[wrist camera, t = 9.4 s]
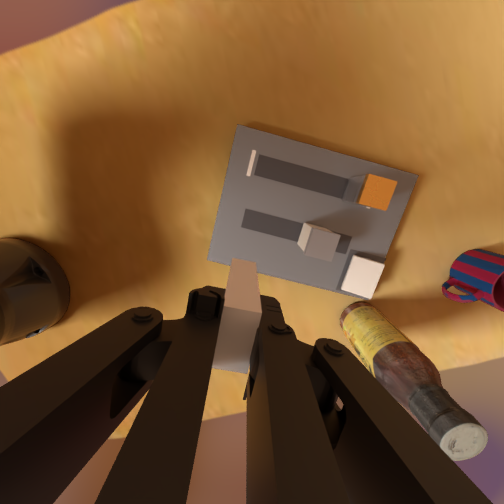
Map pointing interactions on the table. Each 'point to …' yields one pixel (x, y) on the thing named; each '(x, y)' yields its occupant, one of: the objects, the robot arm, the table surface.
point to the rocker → (362, 276)
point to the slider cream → (318, 242)
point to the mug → (477, 278)
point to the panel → (300, 209)
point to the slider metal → (369, 191)
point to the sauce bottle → (412, 380)
